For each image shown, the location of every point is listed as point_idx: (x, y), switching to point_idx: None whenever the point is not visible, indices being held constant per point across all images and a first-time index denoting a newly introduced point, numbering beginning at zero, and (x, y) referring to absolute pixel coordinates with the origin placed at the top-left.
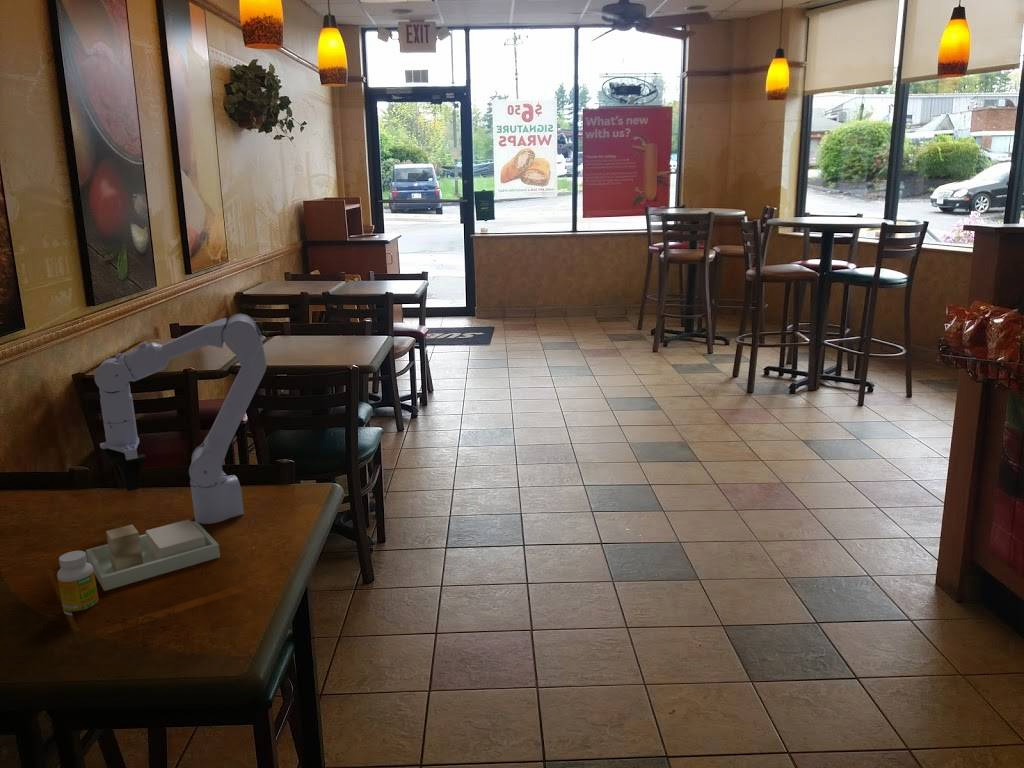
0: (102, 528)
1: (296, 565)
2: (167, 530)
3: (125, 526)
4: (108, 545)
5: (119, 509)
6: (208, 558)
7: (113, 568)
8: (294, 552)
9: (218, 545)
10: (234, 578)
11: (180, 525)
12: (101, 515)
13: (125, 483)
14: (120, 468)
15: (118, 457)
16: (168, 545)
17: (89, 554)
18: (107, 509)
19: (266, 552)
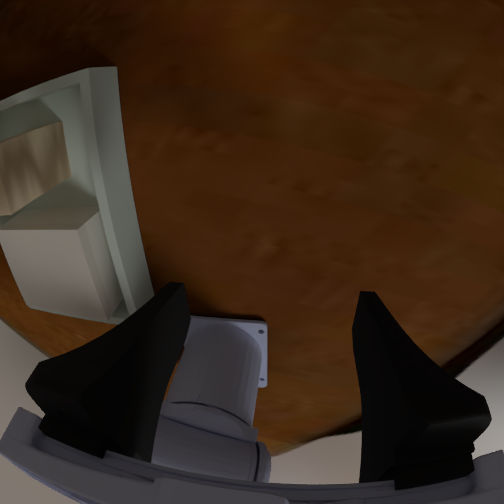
0: (380, 139)
1: (26, 338)
2: (63, 268)
3: (5, 196)
4: (23, 134)
5: (473, 219)
6: None
7: (48, 124)
8: (55, 355)
9: (30, 306)
10: (5, 279)
11: (81, 297)
12: (473, 170)
13: (146, 302)
14: (66, 355)
15: (90, 420)
16: (3, 246)
17: (58, 79)
18: (495, 196)
19: (61, 338)
